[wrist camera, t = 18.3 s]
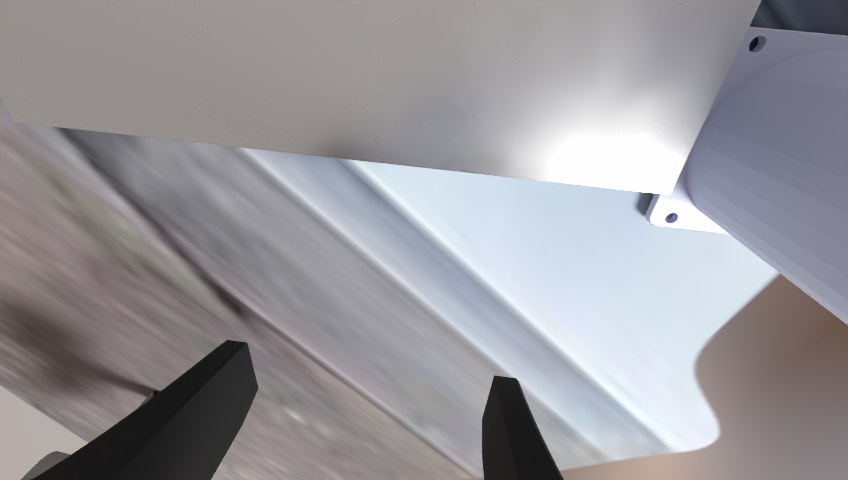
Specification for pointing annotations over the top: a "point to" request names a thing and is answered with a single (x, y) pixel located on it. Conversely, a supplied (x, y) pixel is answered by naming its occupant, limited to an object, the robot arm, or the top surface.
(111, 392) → the top surface
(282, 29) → the grey long block
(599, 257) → the top surface
